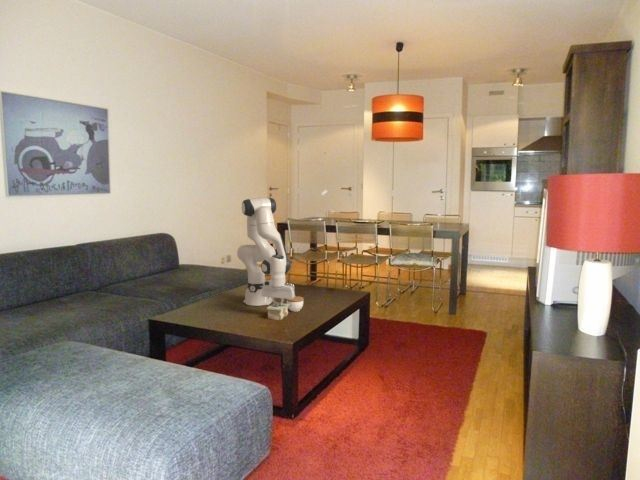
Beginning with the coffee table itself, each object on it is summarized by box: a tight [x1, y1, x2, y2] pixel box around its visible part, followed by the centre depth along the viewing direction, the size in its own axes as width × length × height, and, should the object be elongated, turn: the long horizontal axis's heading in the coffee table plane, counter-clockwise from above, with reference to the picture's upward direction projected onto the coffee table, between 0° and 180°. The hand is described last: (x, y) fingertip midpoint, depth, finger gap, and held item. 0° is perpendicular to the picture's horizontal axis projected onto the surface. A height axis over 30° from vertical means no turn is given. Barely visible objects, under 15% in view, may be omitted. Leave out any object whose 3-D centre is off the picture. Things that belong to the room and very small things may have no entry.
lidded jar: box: [286, 295, 305, 312], centre depth 312 cm, size 11×11×9 cm
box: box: [267, 306, 289, 321], centre depth 296 cm, size 12×8×6 cm, turn 162°
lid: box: [266, 299, 289, 311], centre depth 295 cm, size 13×9×4 cm
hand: (278, 305), depth 295 cm, fingers closed on lid, 2 cm apart
